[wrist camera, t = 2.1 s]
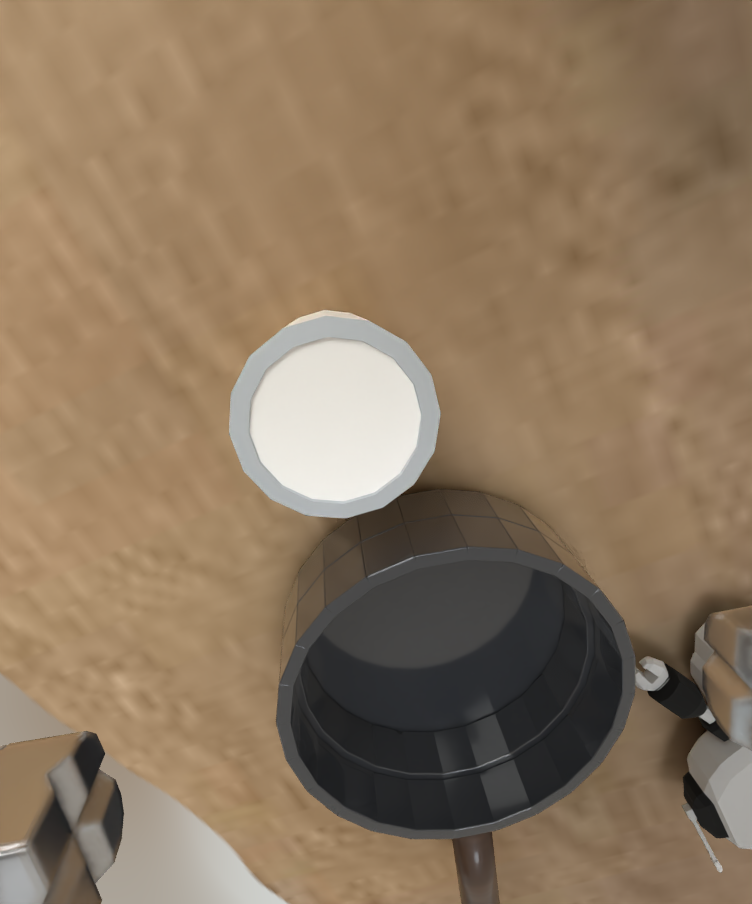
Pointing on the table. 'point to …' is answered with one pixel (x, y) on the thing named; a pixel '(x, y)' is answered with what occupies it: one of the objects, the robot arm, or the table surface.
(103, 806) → the robot arm
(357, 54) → the table surface
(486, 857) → the pan handle
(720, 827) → the robot toy
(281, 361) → the white cylinder
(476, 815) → the pan
